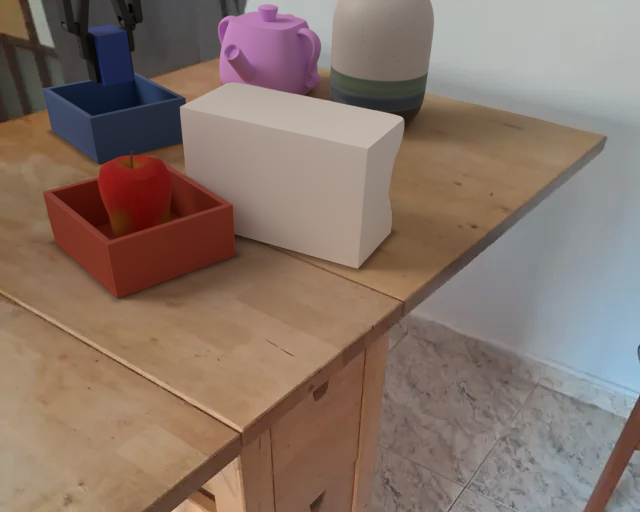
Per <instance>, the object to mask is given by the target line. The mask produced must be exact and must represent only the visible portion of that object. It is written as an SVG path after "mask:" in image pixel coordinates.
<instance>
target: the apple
mask: <svg viewBox="0 0 640 512" xmlns="http://www.w3.org/2000/svg"><path fill="white" fill-rule="evenodd" d="M164 163H165V161H163V160H162V159H160V158H157V157H154V156H151V155H144V154H134V155H133V152H132V150H131V155H127V156H121V157H117V158H115V159H113V160H111V161H107V162H103V163H102V165H101V167H100V169H99V173H98V176H97V177H98V180H97V182H98V187H99V191H100V195H101V198H102V201H103V203H104V205H105V208H106V210H107V212H108V215H109V218H110V222H111V226H112V231H113V234H114V237H115V238H116V239H117V238H120V237H123V236H126V235H129V234H132V233H136V232H139V231H142V230H145V229H148V228H151V227H155V226H158V225H161V224H164V223H167V222H170V221H171V218H170V203H171V193H172V177H171V175H170V173H169V171H168V169H167V168H166V166H165V164H164Z"/></svg>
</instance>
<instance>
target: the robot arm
mask: <svg viewBox="0 0 640 512" xmlns="http://www.w3.org/2000/svg"><path fill="white" fill-rule="evenodd" d="M110 2H111V6H112V8H113V11H114V14H115V16H116V20H117V22H118V24H119V26H117V27H118V28H120V29H122V30H124V31H126V32H127V37H128V44H129V51H130V58H131V65H132V72H133V77H134V72H135V71H134V65H133V57H132V52H135V48H136V45H135V37H134V31H135V30H136V28H137V24H142V23H143V22H144V15H143V9H142V2H141V0H110ZM55 3H56V8H57V13H58V19H59V24H60V27H61V29H62V30H63V31H65V32H67V33H68V34H72V35H75V39H76V44H77V50H78V55H79V57H80V58H81V60H85V63H86V69H87V75H88V80H92V81H93V82H95V83H97V84H99V83H101V77H100V71H99V65H98V60H97V54H96V48H95V43H94V37H93V36H92V35H90V34H88V28H89V19H90V18H89V17H90V15H89V14H90V0H73V3H72V0H55Z"/></svg>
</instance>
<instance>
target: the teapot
mask: <svg viewBox="0 0 640 512" xmlns="http://www.w3.org/2000/svg"><path fill="white" fill-rule="evenodd" d="M217 34H218V39H219V42H220V46H221V48H220V53H219V64H218V65H219V67H218V73H219V79H220V81H221V83H222V85H224V84H226V83H242V84H248V85H253V86H258V87H263V88H267V89H272V90H277V91H282V92H287V93H292V94H298V95H303V96H306V95H307V94H308V93H309V92H310V91H311V90H315V89H318V88H319V87H320V85H321V81H322V80H321V76H320V74H319V73H318V71H319V69H318V62H319V59H320V56H321V51H322V42H321V39H320V37H319V35H318V34H317V33H316V32H315V31H314V30H312V29H310V27H309V24H308V22H307V20H306V19H304V18H301V17H300V16H299V17H298V16H295V15H293V14H290V13H285V14H284V13H279V7H278V5H275V4H270V3H269V4H266V3H265V4H260V5H258V6H257V11H250V12H246V13H243V14H240V15H238V16H237V15H227V16H225V17H224V18H222V19H221V20H220V21H219V23H218V26H217Z"/></svg>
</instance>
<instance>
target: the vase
mask: <svg viewBox="0 0 640 512" xmlns="http://www.w3.org/2000/svg"><path fill="white" fill-rule="evenodd" d="M434 14H435V13H434V8H433V4H432V1H431V0H337V2H336V4H335V9H334V11H333V17H332V27H331V51H330V76H329V77H330V78H329V92H330V101H332V102H337V103H341V104H346V105H351V106H356V107H361V108H366V109H370V110H375V111H380V112H385V113H390V114H394V115H398V116H401V117H402V118H403V119H404V126H405V125H407V124H409V123H412V121H413V120H415V119H416V117H417V116H418V114H419V113H420V112H421V109H422V106H423V103H424V101H425V94H426V88H427V82H428V76H429V67H430V62H431V61H430V60H431V52H432V46H433V45H432V44H433V38H434V29H435V15H434Z"/></svg>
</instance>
